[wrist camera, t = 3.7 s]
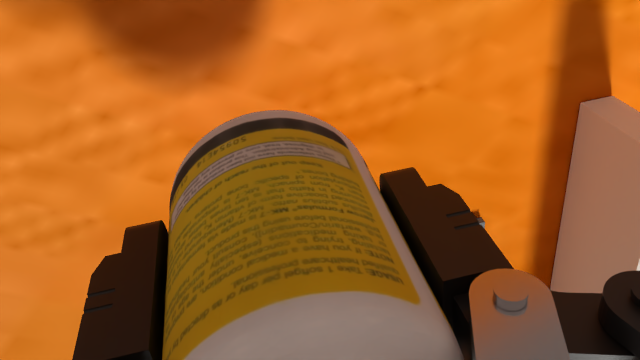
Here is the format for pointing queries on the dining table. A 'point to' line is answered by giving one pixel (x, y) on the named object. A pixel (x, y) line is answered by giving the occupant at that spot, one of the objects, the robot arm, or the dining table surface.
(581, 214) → the corner arena
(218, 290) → the supplement bottle
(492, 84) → the dining table surface
